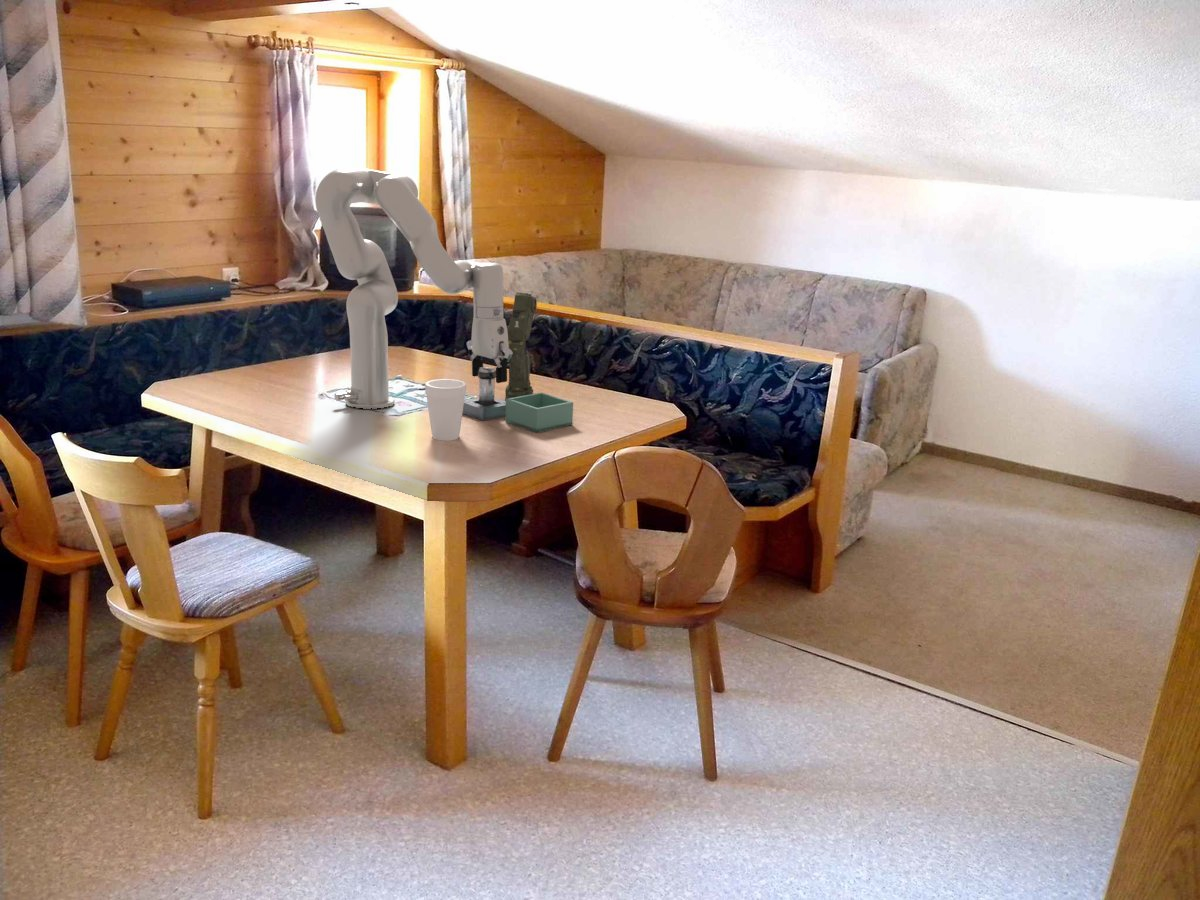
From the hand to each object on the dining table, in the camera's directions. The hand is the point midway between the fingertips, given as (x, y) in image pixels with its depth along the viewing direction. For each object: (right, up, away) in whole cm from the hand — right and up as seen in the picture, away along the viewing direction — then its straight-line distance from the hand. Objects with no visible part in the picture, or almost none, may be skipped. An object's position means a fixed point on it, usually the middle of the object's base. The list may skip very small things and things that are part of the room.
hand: (489, 378), depth 258 cm
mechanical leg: (+6, -4, +21) cm, 22 cm away
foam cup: (-8, -15, -19) cm, 26 cm away
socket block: (-1, -9, +3) cm, 9 cm away
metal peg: (-1, -9, +3) cm, 9 cm away
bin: (+13, -12, -4) cm, 18 cm away
